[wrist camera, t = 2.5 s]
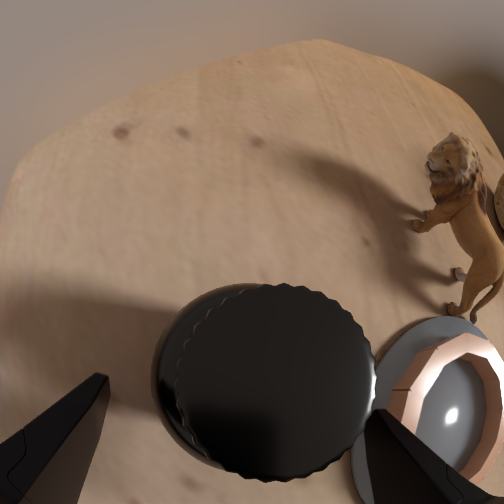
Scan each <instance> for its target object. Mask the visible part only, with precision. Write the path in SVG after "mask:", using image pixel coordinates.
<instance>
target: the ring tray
mask: <svg viewBox="0 0 504 504" xmlns="http://www.w3.org/2000/svg"><path fill="white" fill-rule="evenodd" d="M375 371H376V374H377V377H378V379H377V383H376V386H375V389H376V398H375V401H374V402H373V404H372V411H373V410H374V409H378V408H384V409H386V410H387V411H389V412H390V413H391V414H392V415H393V416H394V417H395V418H396V419H397V420H399V421H400V422H401V423H402V424H403V425H404V426H405V427H406V428H407V429H409V430H410V431H411V432H412V433H413V434H414V435H415V436H417V437H418V438H419V439H420V440H421V441H422V442H423V443H424V444H426V445H427V446H428V447H429V448H430V449H431V450H432V451H434V452H435V453H436V454H437V455H438V456H439V457H440V458H442V459H443V460H444V461H445V462H446V463H447V464H449V465H450V466H451V467H452V468H453V469H454V470H456V471H457V472H458V473H459V474H461V475H462V476H463V477H465V478H466V479H467V480H469V481H470V482H472V483H473V484H475V485H476V486H478V485H479V484H480V483H481V482H482V480H484V478H485V476H486V475H487V473H488V471H489V470H490V468H491V466H492V464H493V463H494V461H495V459H496V457H497V455H498V453H499V452H500V450H501V448H502V445H503V442H504V363H503V361H502V359H501V358H500V356H499V354H498V352H497V351H496V349H495V347H494V346H493V344H492V342H491V341H488V339H487V338H486V336H485V335H484V334H483V333H482V332H481V331H480V330H479V329H478V328H477V327H476V326H474V325H473V324H472V323H470V322H468V321H466V320H464V319H461V318H458V317H453V316H442V317H436V318H433V319H429V320H426V321H423V322H421V323H419V324H417V325H415V326H413V327H412V328H411V329H409V330H408V331H406V332H405V333H404V334H403V335H401V336H400V337H399V338H398V339H397V340H396V341H395V342H394V343H393V344H392V346H391V347H390V348H389V349H388V350H387V351H386V353H385V354H384V355H383V357H382V358H381V360H380V361H379V363H378V364H377V366H376V368H375ZM351 468H352V475H353V479H354V483H355V487H356V489H357V491H358V494H359V496H360V498H361V499H362V501H363V502H364V504H374V498H373V493H372V488H371V482H370V477H369V472H368V467H367V461H366V451H365V441H364V431H363V432H362V433H361V434H360V435H359V436H358V437H357V438H356V441H355V443H354V445H353V447H351Z"/></svg>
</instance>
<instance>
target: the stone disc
mask: <svg viewBox="0 0 504 504" xmlns="http://www.w3.org/2000/svg"><path fill="white" fill-rule="evenodd" d="M494 205H495V210H496V214H497V217H498V220H499V223H500V225H501V227H502V228H503V230H504V174H503V175H502V176H501V178H500V180H499V182H498V185H497V188H496V191H495V196H494Z"/></svg>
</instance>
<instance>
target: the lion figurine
mask: <svg viewBox="0 0 504 504" xmlns="http://www.w3.org/2000/svg"><path fill="white" fill-rule="evenodd" d="M427 159H428V161H427V163H426V164H425V169H426V171H427V172H429V176H430V179H431V182H432V184H431V187H430V192H431V195H432V196H433V198H434V201H435V202H436V206H435V207H434V209H433V210H429V211H427V219H426V220H425V221H424V222H423V221H422V220H420V219H415V220H414V222H413V228H414V229H415V230H416V231H418V232H420V233H424V232H428V231H430V230H431V228H433V227H434V226H435V225H437V224H440V223H447V222H450V224H451V227H452V230H453V233H454V235H455V237H456V239H457V241H458V243H459V245H460V246H461V248H462V249H463V250H464V251H465V252H466V253H467V254H468V255H469V256H470V257H471V258H472V259H473V262H472V265H471V267H470V269H469V271H468V273H467V274H464V270H463V269H462V268H460V267H458V268H456V269H455V275H456V278H457V279H458V280H460V281H462V282H464V285H463V293H462V299H461V303H460V306H459V307H458V305H457V304H456V303H454V302H450V304H449V305H448V309H447V310H448V313H449V315H450V316H453V317H457V316H460V315H462V314H464V313H465V312H467V311H468V310H470V309H471V308H472V305H473V301H474V299H475V297H476V296H477V295H478V293H479V292H480V291H482V290H483V289H484V288H486V287H488V286H490V285H493V288H492V289H491V290H490V291H489V292H488V293H487V294H486V295H485V296H484V297H483V298H482V299H481V300H480V301H479V302H478V303H477V304H476V305H475V306H474V308H473V309H472V311H471V313H470V321H471V322H472V323H473V324H475V323H476V321H477V317H476V312H477V311H478V310H479V309H480V308H482V307H483V306H484V305H486V304H487V303H488V302H489V301H491V300H492V299H493V298H494V297H495V296H496V295H497V294H498V292H499V291H500V289H501V288H502V286H503V284H504V246H503V244H502V243H501V241H500V239H499V238H498V236H497V234H496V233H495V231H494V229H493V227H492V225H491V223H490V221H489V218H488V216H487V213H486V199H487V188H486V184H485V178H484V176H483V175H482V171H483V166H482V165H481V163H480V159H479V157H478V153H477V152H476V151H475V149H474V147H473V145H472V144H471V143H470V142H469V140H468V139H466V138H464V137H460V136H459V135H455V134H454V133H453V132H451V133H450V135H449V136H448V137H447V138H445V139H444V140H443V141H441V142H440V143H439V144H437V145H436V146H435V147H433V150H432V152H430V153H429V154H428V155H427Z"/></svg>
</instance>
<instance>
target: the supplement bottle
mask: <svg viewBox="0 0 504 504" xmlns="http://www.w3.org/2000/svg"><path fill="white" fill-rule="evenodd" d="M377 379H378V377H377V374H376V371H375V358H374V356H373V355H372V353H371V346H370V342H369V341H368V340H367V338H366V337H365V336H364V334H363V329H362V327H361V326H360V325H359V324H358V323H356V322H355V321H354V319H353V316H352V314H351V313H350V312H348V311H346V310H344V309H342V307H341V306H340V304H339V303H338V302H337V301H336V300H333V299H328V298H327V297H326V296H325V295H324V294H323V293H322V292H319V291H311V290H309V289H308V288H306V287H305V286H296V287H293V286H290V285H289V284H286V283H282V284H279V285H277V286H272V285H269V284H257V283H242V284H233V285H228V286H224V287H220V288H217V289H214V290H212V291H209V292H207V293H205V294H203V295H201V296H199V297H197V298H196V299H194V300H193V301H191V302H190V303H188V304H187V305H186V306H185V307H183V308H182V309H181V310H180V311H179V312H178V313H177V314H176V315H175V316H174V318H173V319H172V320H171V321H170V322H169V324H168V325H167V327H166V328H165V330H164V332H163V333H162V335H161V337H160V339H159V341H158V344H157V346H156V349H155V352H154V356H153V360H152V366H151V391H152V397H153V401H154V405H155V408H156V411H157V413H158V416H159V418H160V420H161V422H162V424H163V426H164V427H165V429H166V430H167V432H168V433H169V434H170V436H171V437H172V438H173V440H174V441H175V442H176V443H177V444H178V445H179V446H180V447H181V448H182V449H184V450H185V451H186V452H187V453H189V454H190V455H191V456H193V457H194V458H196V459H197V460H199V461H201V462H203V463H205V464H207V465H210V466H212V467H214V468H217V469H221V470H224V471H227V472H231V473H238V474H239V475H240V476H241V477H243V478H244V479H258V480H260V481H262V482H264V483H267V482H271V481H280V482H288V481H291V480H292V479H295V478H306V477H308V476H310V475H311V474H312V473H314V472H319V471H323V470H324V469H325V468H327V466H328V465H329V464H330V463H333V462H335V461H337V460H340V458H341V457H342V455H343V454H344V452H345V451H347V450H348V449H350V448H351V447H353V445H354V443H355V441H356V438H357V437H358V436H359V435H360V434H361V433H362V432H363V431H364V429H365V425H366V421H367V420H368V419H369V417H370V416H371V414H372V404H373V402H374V401H375V398H376V389H375V386H376V383H377Z"/></svg>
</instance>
